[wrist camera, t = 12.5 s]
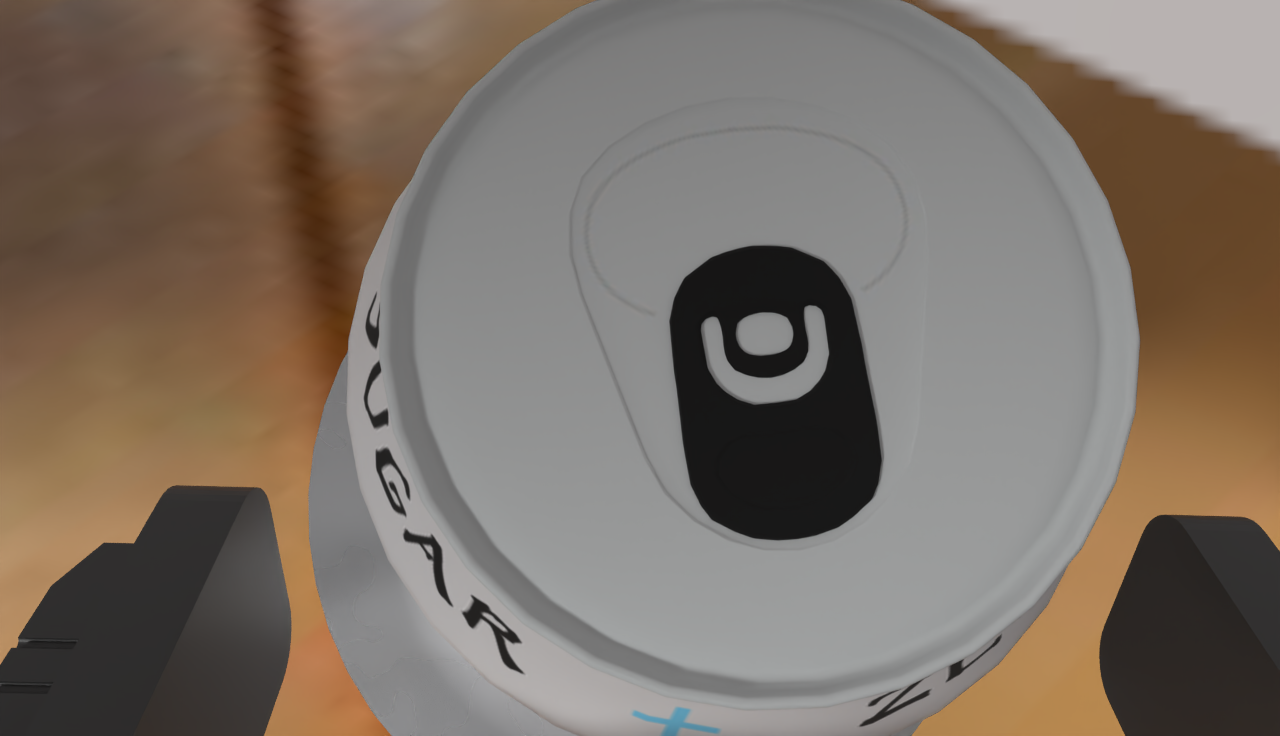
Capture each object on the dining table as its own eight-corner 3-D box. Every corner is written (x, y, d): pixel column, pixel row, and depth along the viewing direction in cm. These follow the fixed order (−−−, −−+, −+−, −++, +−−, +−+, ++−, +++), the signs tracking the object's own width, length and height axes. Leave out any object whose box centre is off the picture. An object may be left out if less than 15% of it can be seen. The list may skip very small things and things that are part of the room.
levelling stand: (305, 774, 24) (246, 812, 20) (406, 198, 27) (372, 131, 23) (913, 845, 24) (975, 896, 20) (947, 265, 27) (1006, 210, 23)
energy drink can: (773, 341, 22) (1119, -152, 7) (821, 631, 21) (1346, 744, 6) (490, 375, 22) (250, -71, 7) (521, 672, 20) (310, 898, 6)
